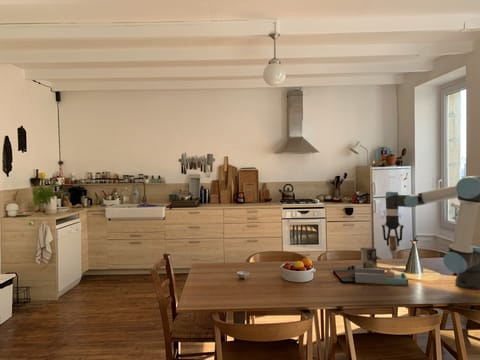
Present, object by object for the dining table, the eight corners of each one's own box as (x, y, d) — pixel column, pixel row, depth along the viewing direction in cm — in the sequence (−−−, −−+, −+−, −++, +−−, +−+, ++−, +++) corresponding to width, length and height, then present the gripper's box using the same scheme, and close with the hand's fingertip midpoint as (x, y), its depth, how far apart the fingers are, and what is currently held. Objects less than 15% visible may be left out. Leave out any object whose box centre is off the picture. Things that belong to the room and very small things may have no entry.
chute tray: (405, 278, 227) (405, 273, 227) (408, 285, 214) (408, 279, 214) (384, 277, 231) (384, 272, 231) (386, 284, 217) (386, 278, 217)
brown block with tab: (395, 252, 239) (394, 234, 239) (396, 255, 231) (396, 236, 231) (389, 252, 240) (389, 234, 240) (390, 255, 232) (390, 236, 232)
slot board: (384, 277, 231) (384, 269, 231) (386, 284, 217) (386, 275, 217) (355, 276, 236) (354, 267, 236) (355, 282, 223) (355, 273, 223)
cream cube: (393, 279, 224) (400, 279, 223) (394, 280, 221) (401, 281, 219) (393, 272, 224) (400, 273, 223) (394, 274, 221) (401, 274, 219)
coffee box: (374, 270, 248) (374, 247, 247) (377, 273, 241) (376, 249, 241) (361, 270, 249) (360, 247, 248) (363, 273, 242) (362, 249, 242)
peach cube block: (391, 277, 225) (393, 271, 224) (392, 279, 221) (394, 273, 220) (385, 275, 226) (387, 269, 225) (385, 276, 222) (388, 270, 222)
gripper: (405, 214, 236) (406, 250, 237) (378, 214, 241) (379, 249, 242) (406, 215, 229) (407, 252, 229) (378, 215, 234) (379, 251, 234)
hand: (392, 250), depth 235 cm, fingers closed on brown block with tab, 3 cm apart
